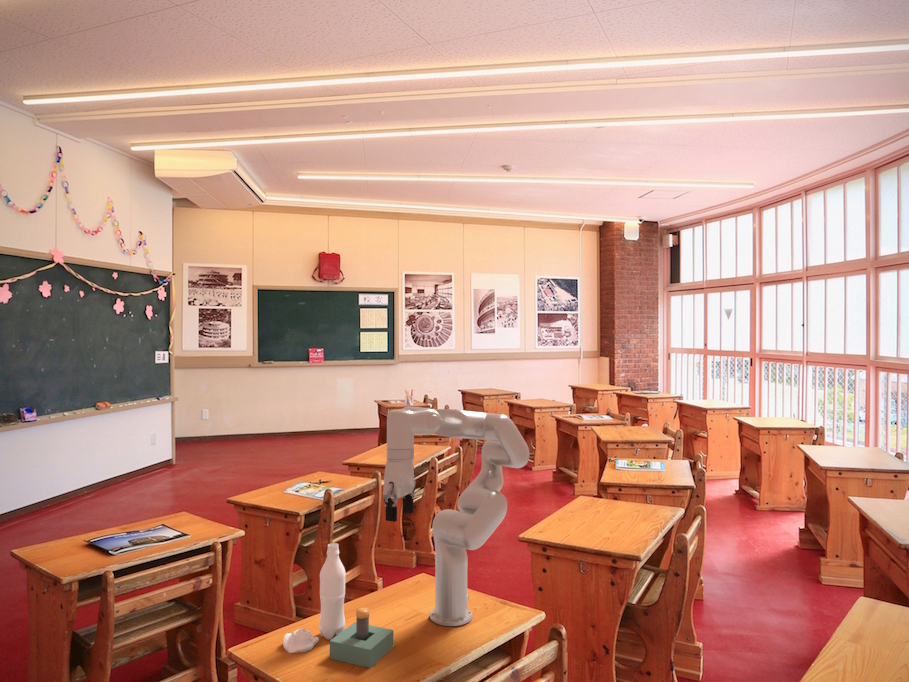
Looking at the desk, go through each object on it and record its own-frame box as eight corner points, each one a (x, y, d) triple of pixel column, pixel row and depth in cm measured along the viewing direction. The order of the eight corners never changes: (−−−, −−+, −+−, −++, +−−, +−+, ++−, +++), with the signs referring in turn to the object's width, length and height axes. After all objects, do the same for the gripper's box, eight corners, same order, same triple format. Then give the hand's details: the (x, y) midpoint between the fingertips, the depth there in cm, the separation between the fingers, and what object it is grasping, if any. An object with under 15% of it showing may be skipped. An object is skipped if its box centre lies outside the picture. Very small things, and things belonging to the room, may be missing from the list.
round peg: (360, 648, 162) (360, 606, 162) (371, 651, 161) (371, 608, 161) (353, 654, 159) (353, 611, 159) (364, 656, 158) (365, 613, 158)
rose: (275, 627, 165) (309, 618, 171) (275, 644, 165) (309, 634, 171) (291, 641, 157) (325, 630, 163) (291, 658, 157) (325, 647, 163)
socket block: (354, 638, 168) (354, 622, 168) (393, 647, 163) (393, 630, 163) (329, 658, 157) (329, 640, 157) (370, 668, 152) (370, 649, 152)
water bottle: (313, 635, 170) (314, 544, 170) (334, 627, 175) (335, 539, 175) (328, 644, 165) (330, 550, 165) (350, 635, 170) (351, 544, 171)
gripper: (402, 449, 179) (402, 508, 178) (372, 458, 163) (372, 522, 162) (425, 450, 176) (425, 510, 176) (397, 460, 160) (397, 526, 160)
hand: (399, 516), depth 169 cm, fingers open, 9 cm apart
